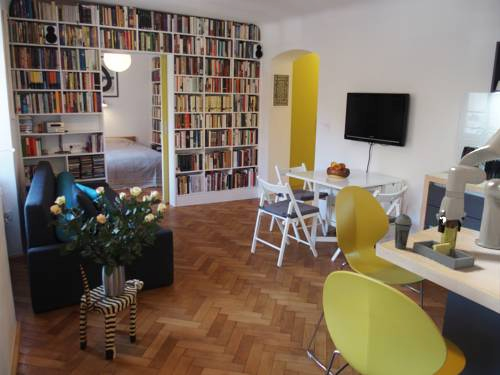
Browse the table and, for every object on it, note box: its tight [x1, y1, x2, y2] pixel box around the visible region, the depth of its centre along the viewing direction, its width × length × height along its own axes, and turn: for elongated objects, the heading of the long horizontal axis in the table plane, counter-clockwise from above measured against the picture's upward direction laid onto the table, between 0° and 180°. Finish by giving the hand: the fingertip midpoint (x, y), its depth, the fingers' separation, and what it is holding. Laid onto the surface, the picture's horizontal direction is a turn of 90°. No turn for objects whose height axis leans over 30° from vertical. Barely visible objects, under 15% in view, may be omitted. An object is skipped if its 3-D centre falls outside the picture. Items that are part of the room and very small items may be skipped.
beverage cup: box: [394, 204, 413, 250], centre depth 183 cm, size 7×7×20 cm
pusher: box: [432, 243, 451, 255], centre depth 176 cm, size 8×5×5 cm, turn 113°
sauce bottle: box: [440, 220, 458, 249], centre depth 184 cm, size 6×6×20 cm
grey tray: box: [412, 239, 476, 271], centre depth 174 cm, size 11×22×4 cm, turn 23°
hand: (448, 231), depth 184 cm, fingers open, 9 cm apart
